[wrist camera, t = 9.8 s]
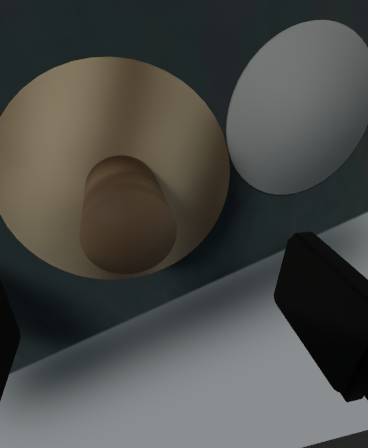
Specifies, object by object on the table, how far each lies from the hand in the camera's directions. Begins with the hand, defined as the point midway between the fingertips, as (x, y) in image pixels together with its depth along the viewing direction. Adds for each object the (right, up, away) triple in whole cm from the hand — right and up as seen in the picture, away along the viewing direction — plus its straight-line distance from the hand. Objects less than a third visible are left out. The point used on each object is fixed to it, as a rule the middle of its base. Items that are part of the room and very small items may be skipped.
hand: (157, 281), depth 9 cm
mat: (+11, +11, +15) cm, 22 cm away
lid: (-3, +4, +8) cm, 9 cm away
